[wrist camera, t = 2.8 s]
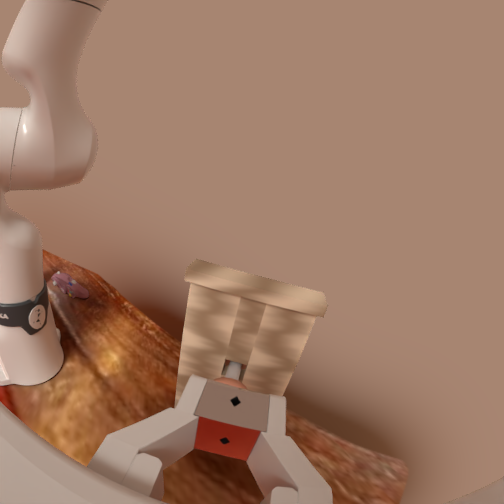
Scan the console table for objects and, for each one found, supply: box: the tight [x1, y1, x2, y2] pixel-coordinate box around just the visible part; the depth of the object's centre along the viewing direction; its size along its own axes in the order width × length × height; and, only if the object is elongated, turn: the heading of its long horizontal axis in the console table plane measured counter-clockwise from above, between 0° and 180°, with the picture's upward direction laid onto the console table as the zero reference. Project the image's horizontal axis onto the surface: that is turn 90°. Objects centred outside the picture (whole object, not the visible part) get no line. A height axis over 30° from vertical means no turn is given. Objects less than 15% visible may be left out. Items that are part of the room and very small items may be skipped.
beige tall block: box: [175, 259, 328, 408], centre depth 30 cm, size 13×6×25 cm, turn 82°
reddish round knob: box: [214, 360, 248, 390], centre depth 27 cm, size 4×9×4 cm, turn 172°
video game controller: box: [51, 271, 89, 299], centre depth 53 cm, size 10×5×7 cm, turn 77°
